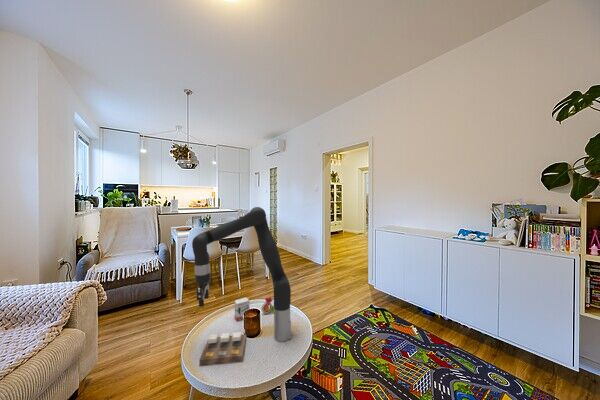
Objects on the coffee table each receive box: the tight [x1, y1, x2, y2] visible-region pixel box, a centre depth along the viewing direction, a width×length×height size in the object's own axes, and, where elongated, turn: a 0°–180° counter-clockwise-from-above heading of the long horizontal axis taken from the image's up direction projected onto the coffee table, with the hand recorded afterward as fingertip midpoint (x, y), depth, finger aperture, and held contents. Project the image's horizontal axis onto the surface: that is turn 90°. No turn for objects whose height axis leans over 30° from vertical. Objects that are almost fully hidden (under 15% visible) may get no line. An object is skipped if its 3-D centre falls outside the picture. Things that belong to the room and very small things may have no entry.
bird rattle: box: [261, 296, 274, 315], centre depth 151 cm, size 6×11×9 cm
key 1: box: [207, 333, 219, 343], centre depth 117 cm, size 4×4×2 cm
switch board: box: [198, 334, 247, 367], centre depth 116 cm, size 20×16×3 cm
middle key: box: [220, 332, 231, 342], centre depth 118 cm, size 4×4×2 cm
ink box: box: [234, 297, 250, 322], centre depth 146 cm, size 8×5×12 cm, turn 123°
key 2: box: [232, 331, 242, 341], centre depth 119 cm, size 4×4×2 cm
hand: (204, 302), depth 119 cm, fingers open, 8 cm apart
